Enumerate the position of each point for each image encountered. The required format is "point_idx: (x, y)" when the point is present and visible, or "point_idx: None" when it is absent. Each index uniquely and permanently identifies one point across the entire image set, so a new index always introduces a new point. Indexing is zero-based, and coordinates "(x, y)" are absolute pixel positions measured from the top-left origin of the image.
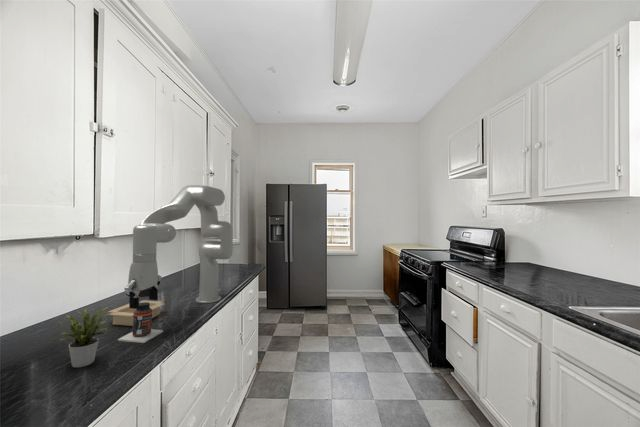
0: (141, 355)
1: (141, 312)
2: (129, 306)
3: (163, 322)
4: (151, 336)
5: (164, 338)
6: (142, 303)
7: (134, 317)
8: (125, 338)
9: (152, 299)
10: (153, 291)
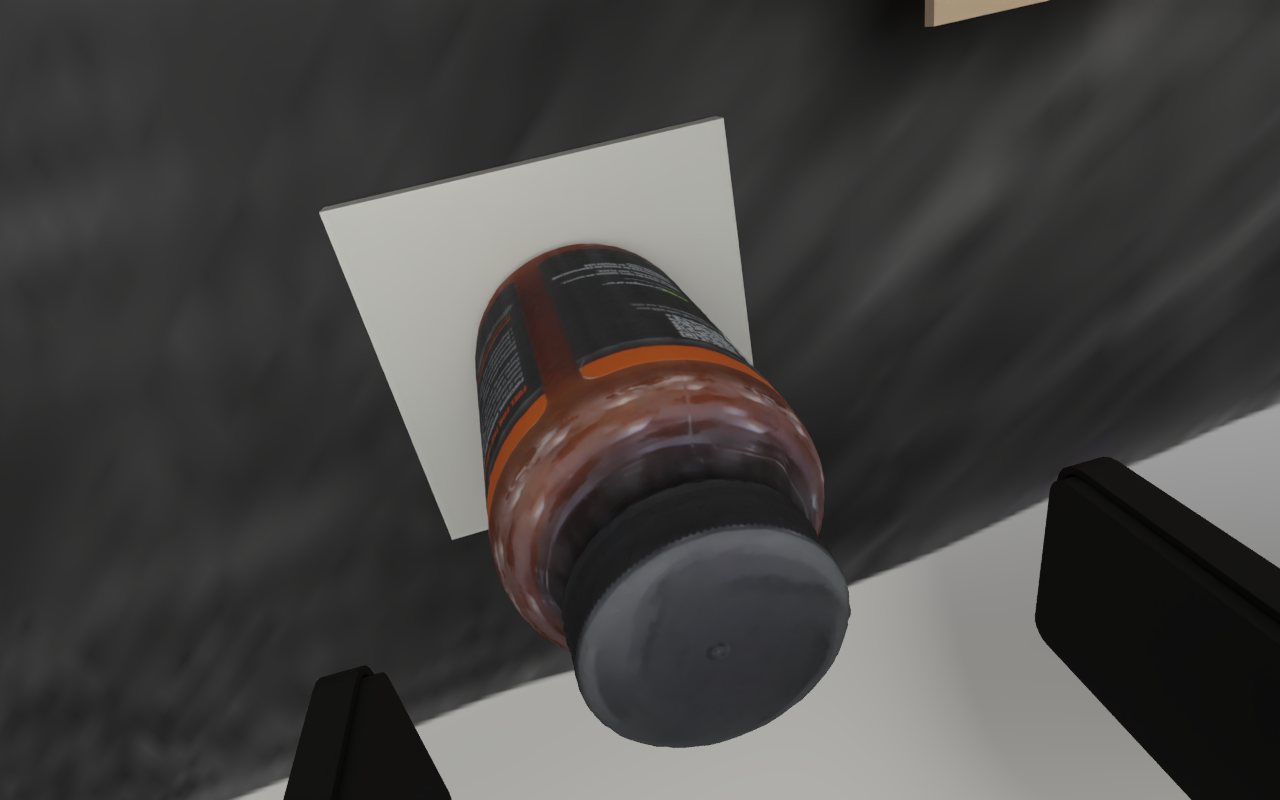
0: (269, 722)
1: (551, 638)
2: (312, 703)
3: (1011, 189)
4: None
5: None
6: (721, 625)
7: (486, 472)
8: (389, 285)
9: (1044, 558)
10: (1252, 780)
